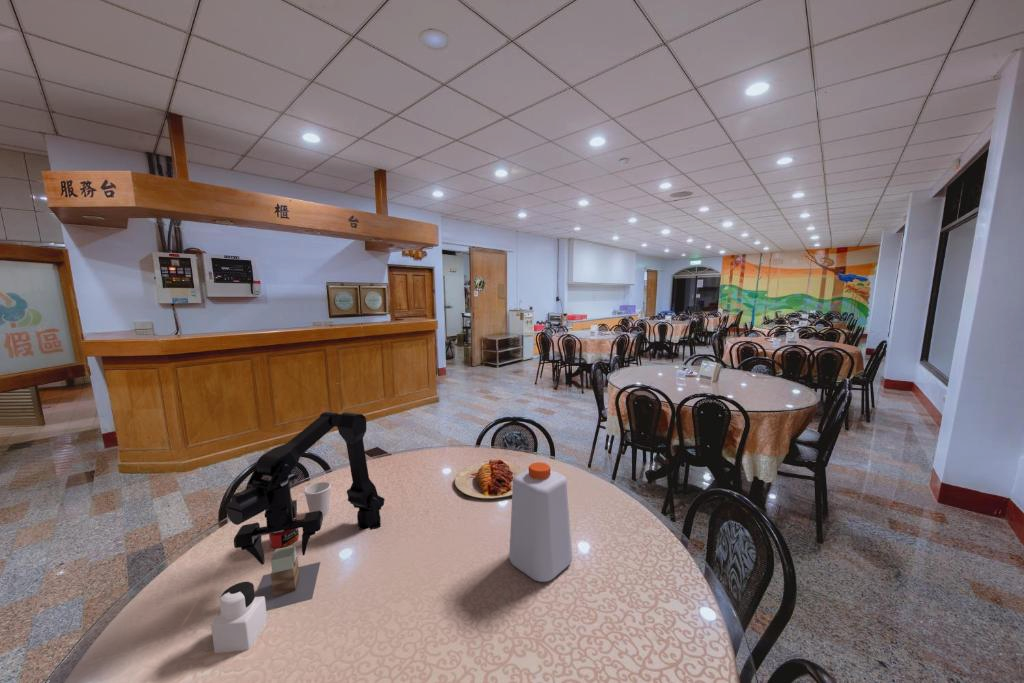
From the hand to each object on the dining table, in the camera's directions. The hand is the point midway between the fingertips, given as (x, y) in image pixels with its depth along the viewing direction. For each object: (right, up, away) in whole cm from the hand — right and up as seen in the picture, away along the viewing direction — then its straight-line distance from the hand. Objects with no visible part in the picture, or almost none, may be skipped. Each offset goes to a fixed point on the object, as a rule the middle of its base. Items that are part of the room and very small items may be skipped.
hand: (283, 558), depth 95 cm
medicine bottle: (-1, -10, -13) cm, 17 cm away
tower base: (0, -8, +1) cm, 8 cm away
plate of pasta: (+53, -2, +56) cm, 77 cm away
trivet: (0, -8, +1) cm, 8 cm away
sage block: (0, -2, 0) cm, 2 cm away
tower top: (0, -5, 0) cm, 5 cm away
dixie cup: (-9, -5, +35) cm, 36 cm away
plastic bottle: (+67, -6, +9) cm, 68 cm away
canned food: (-12, -7, +20) cm, 24 cm away
